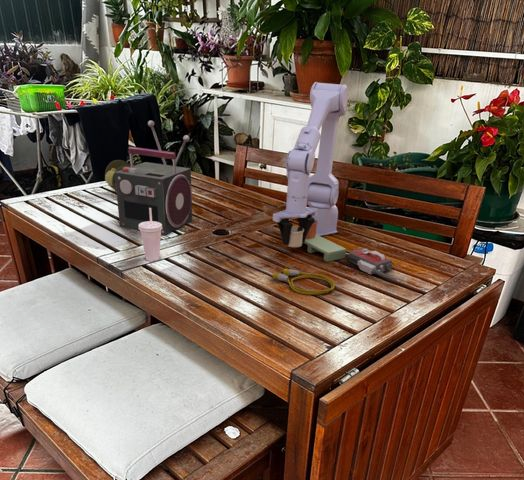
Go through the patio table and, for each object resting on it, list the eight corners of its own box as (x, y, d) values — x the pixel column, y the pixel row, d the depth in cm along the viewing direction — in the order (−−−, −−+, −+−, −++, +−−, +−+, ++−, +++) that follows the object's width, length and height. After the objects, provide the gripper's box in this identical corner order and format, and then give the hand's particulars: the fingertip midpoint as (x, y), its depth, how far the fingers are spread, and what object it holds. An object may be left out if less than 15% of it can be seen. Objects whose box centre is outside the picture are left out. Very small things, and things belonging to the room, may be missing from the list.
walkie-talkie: (338, 261, 149) (392, 286, 135) (340, 246, 146) (395, 270, 133) (359, 255, 153) (413, 279, 140) (361, 241, 151) (416, 263, 138)
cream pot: (295, 240, 154) (296, 224, 151) (306, 245, 150) (308, 230, 147) (280, 242, 151) (281, 227, 148) (291, 248, 147) (292, 232, 145)
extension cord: (303, 268, 143) (303, 261, 142) (343, 288, 133) (344, 281, 132) (268, 278, 136) (269, 271, 135) (308, 300, 126) (309, 292, 125)
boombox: (116, 227, 165) (105, 126, 149) (151, 210, 182) (145, 118, 166) (165, 236, 160) (159, 133, 144) (197, 218, 176) (194, 124, 161)
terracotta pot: (309, 232, 161) (310, 217, 159) (320, 237, 157) (321, 222, 155) (294, 234, 158) (296, 219, 156) (305, 240, 155) (307, 224, 152)
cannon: (164, 185, 211) (162, 157, 205) (174, 193, 203) (173, 163, 197) (103, 191, 200) (99, 160, 194) (111, 199, 192) (107, 167, 186)
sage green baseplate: (309, 240, 163) (310, 231, 162) (345, 257, 151) (346, 248, 150) (291, 243, 160) (292, 234, 158) (327, 262, 148) (328, 252, 146)
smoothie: (168, 256, 146) (165, 207, 139) (157, 264, 141) (153, 213, 134) (148, 252, 148) (144, 204, 140) (136, 260, 142) (132, 210, 135)
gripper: (284, 202, 137) (281, 251, 144) (326, 196, 144) (321, 243, 151) (269, 195, 141) (267, 243, 149) (310, 190, 149) (306, 235, 156)
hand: (293, 242), depth 150 cm, fingers closed on cream pot, 5 cm apart
